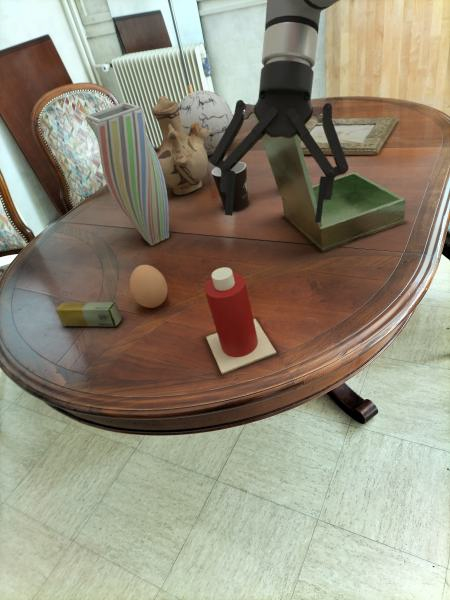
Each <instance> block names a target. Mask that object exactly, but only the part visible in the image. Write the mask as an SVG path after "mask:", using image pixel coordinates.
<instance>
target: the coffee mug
mask: <svg viewBox="0 0 450 600" xmlns="http://www.w3.org/2000/svg"><path fill="white" fill-rule="evenodd" d="M231 171H234V172H235V173H236V177H235V189H234V201H233V213H236V212H240V211H242V210H245V209H246V208H247V207H249V189H248V174H247V173H248V171H247V164H246V163H245V162H243V161H239V162H238V163H237V164H236V165H235V166H234V167H233V168H232V169H231ZM211 175H212V178H213V181H214V183H215V187H216V190H217V192H218V195H219V197H220V201H221V203H222V207H223V208H224V210H225V204H226V193H222V192H221V190H220V182H221V170H220V168H218V167H214V168H213V169H212V170H211Z"/></svg>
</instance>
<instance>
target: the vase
mask: <svg viewBox="0 0 450 600" xmlns="http://www.w3.org/2000/svg"><path fill="white" fill-rule="evenodd" d="M84 120H85V121H86V122H87V124H88V126H89V127H90V129H91V130H92V132H93V134H94V136H95V138H96V140H97V144H98V150H99V156H100V163H101V169H102V174H103V177H104V180H105V183H106V185H107V189H108V190H109V193H110V194H111V196H112V198H113V200H114V201H115V203H116V205H117V207H118V208H119V209H120V211H121V212H122V213H123V214H124V216H125V217H126V218H127V219H128V221H129V222H130V223H131V224H132V225H133V227H134V228H135V229H136V231H138V232H139V234H140V235H141V237H142V238H143V240H144V241H146V242H147V243H148V244H149V246H153V245H156V244H158V243H160V242H161V241H164V240H167V239H169V238H170V229H169V227H170V221H169V220H170V219H169V218H170V217H169V216H170V215H169V199H168V192H167V187H166V185H165V180H164V176H163V172H162V169H161V166H160V163H159V160H158V157H157V155H156V153H155V150H154V148H153V146H154V145H153V144H152V142H151V141H150V139H149V136H148V135H147V127H146V119H145V111H144V108H143V107H141V106H140V105H136V104H133V103H129V102H126V101H125V102H121V103H118V104H116V105H112V106H110V107H107V108H104V109H101V110H99V111H95V112H92V113H90V114H86V115H85V117H84ZM152 145H153V146H152Z"/></svg>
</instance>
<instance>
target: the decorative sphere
mask: <svg viewBox="0 0 450 600" xmlns="http://www.w3.org/2000/svg"><path fill="white" fill-rule="evenodd" d="M179 101H180V102H179V103H178V107H179V114H180V118H181V122H182V126H183V129H184V132H185V134H186V135H188V134H189V132H190V127H191V125H192V124H193V123H196V122H197V123H199V124H200V126H201V127H202V128H204V129H206V130H211V131H212V134H210V135H209V136H208V137H207V138H206V139H205V141H204V148H205V150H206V153H207V157H208V156H212V154H213V152H214V151H215V149H216V147H217V145H218V143H219V142H220V140H221V138H222V136H223V134H224V133H225V131H226V129H227V127H228V125H229V124H230V122H231V120H232V118H233V116H234V114H233V112H232V109H231V108H230V105H229V104H228V102H227V101H226V100H225V99H224V98H223V97H222V96H221V95H219V94H217V92H214V91H211V90H205V89H204V90H203V89H202V90H201V89H200V90H195V91H193V92H190V93H187V95H185V96H184V97H183V98H182V99H181V100H179Z"/></svg>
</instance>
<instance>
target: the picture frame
mask: <svg viewBox="0 0 450 600" xmlns="http://www.w3.org/2000/svg"><path fill="white" fill-rule="evenodd" d="M332 122H333V124H334V127H335V130H336V133H337V136H338V139H339V141H340V144H341V147H342V150H343V153H344V156H348V155H350V156H358V155H359V156H363V155H364V156H376V155H377V156H378V154H379V153H380V152H381V149H382V147H383V146H384V144H385V143H386V141H387V140H388V137H389V136H390V135H391V133H392V131H393V129H394V128H395V126H396V124H397V123H398V117H394V116H387V117H382V116H381V117H354V118H353V117H352V118H351V117H349V118H346V117H341V118H333V117H332ZM305 126H306V127H307V129H308V130H309V132H310V134H311V136H312V137H313V139H314V140H315V141H316V143H317V144H318V146H319V147H320V149H321V150H322V152H323V153H324V155H329V156H330V155H332V152H331V149H330V146H329V144H328V141H327V138H326V135H325V132H324V129H323V125H322V123H319V122H318V121H317V118H312V119H311V118H310V120H309V121H308V122H307V123H306V124H305ZM299 140H300V143H301V147H302V151H303V155H311V154H310V152H309V151H308V149H307V148H306V146H305V145H304V143H303V142H302V141H301V139H300V138H299ZM332 156H333V155H332Z"/></svg>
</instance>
